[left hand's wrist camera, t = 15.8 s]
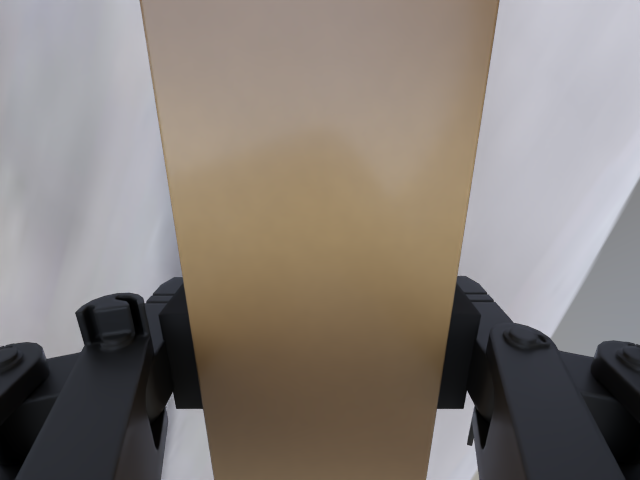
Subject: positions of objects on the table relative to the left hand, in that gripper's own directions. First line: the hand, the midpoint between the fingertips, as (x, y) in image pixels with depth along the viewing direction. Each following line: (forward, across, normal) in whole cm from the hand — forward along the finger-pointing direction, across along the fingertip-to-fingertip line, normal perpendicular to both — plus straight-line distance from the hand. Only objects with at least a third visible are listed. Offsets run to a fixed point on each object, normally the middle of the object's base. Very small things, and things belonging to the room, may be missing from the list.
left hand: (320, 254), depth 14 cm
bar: (+1, 0, -35) cm, 35 cm away
